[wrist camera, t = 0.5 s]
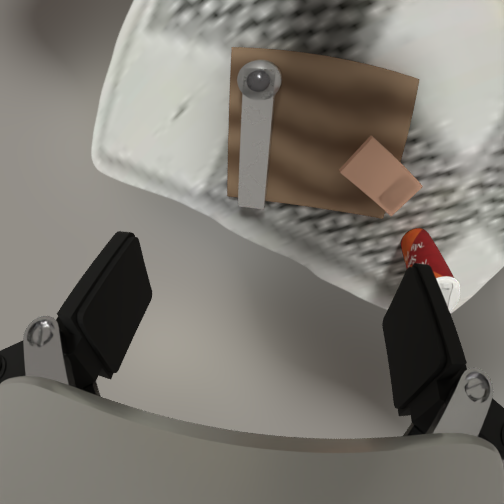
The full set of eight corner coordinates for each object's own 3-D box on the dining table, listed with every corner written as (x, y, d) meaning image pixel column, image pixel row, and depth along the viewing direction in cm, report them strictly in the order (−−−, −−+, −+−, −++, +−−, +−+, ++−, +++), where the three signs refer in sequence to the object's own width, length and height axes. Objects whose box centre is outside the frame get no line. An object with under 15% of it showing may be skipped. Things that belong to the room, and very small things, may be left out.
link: (242, 58, 30) (236, 59, 27) (283, 61, 30) (282, 62, 27) (236, 195, 43) (231, 208, 40) (270, 199, 43) (268, 213, 40)
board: (233, 47, 31) (231, 47, 30) (416, 78, 29) (419, 79, 28) (228, 192, 45) (227, 196, 44) (381, 214, 43) (382, 218, 42)
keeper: (334, 153, 38) (340, 172, 33) (362, 123, 35) (372, 137, 30) (380, 193, 41) (391, 216, 36) (407, 166, 37) (422, 186, 32)
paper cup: (399, 221, 43) (424, 283, 32) (439, 223, 42) (470, 282, 31) (391, 258, 48) (408, 322, 37) (428, 259, 47) (451, 319, 36)
